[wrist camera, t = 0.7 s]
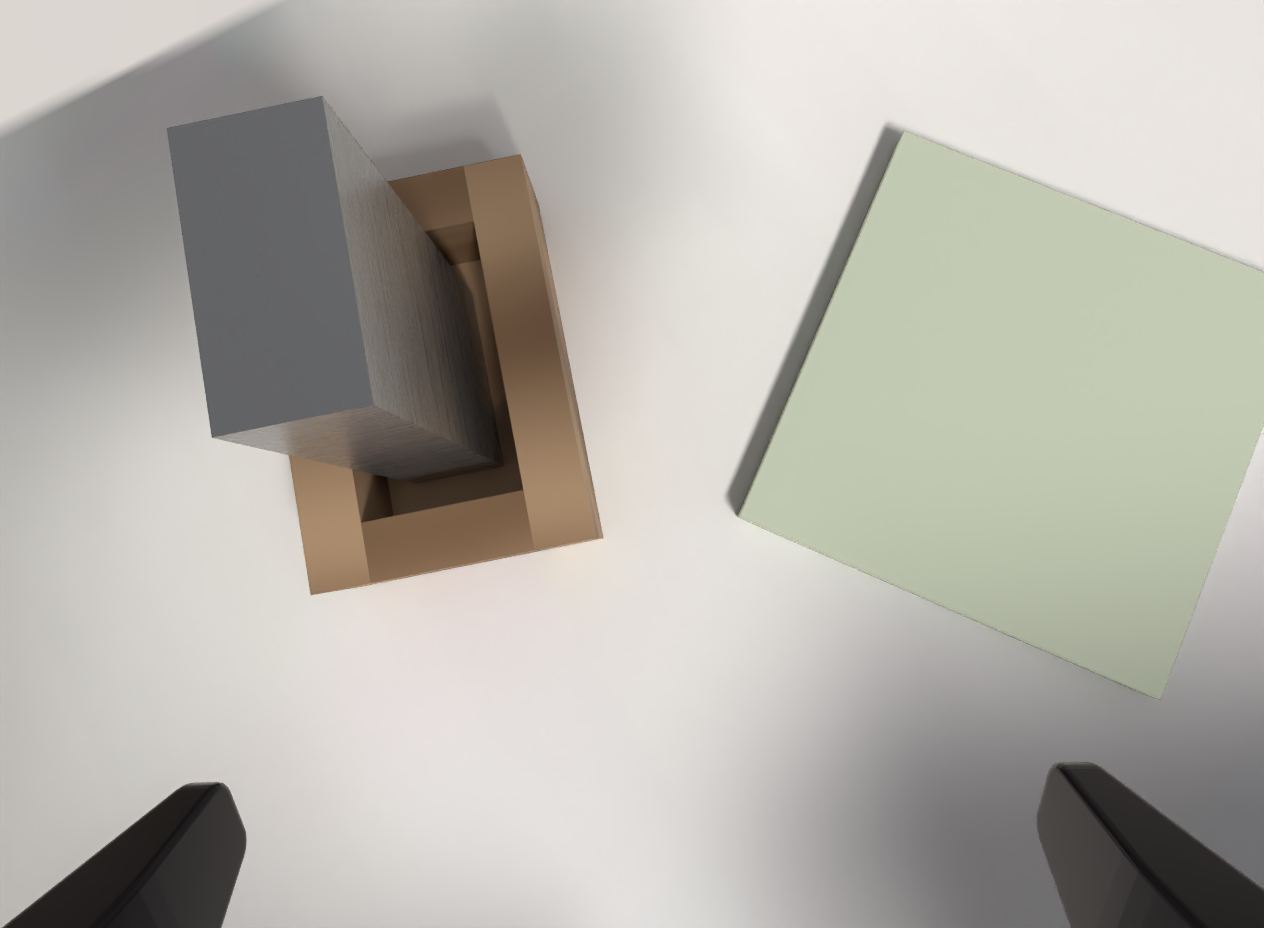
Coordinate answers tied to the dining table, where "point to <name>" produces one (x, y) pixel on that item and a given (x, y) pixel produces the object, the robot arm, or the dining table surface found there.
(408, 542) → the slotted box
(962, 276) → the mat
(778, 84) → the dining table surface
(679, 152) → the dining table surface
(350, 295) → the gray rectangular block
